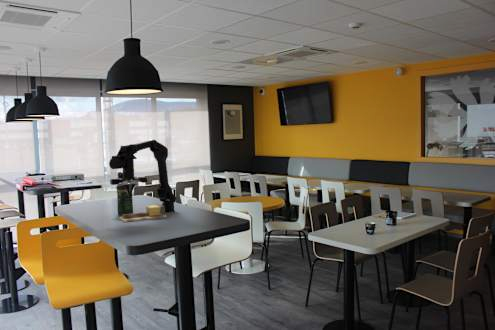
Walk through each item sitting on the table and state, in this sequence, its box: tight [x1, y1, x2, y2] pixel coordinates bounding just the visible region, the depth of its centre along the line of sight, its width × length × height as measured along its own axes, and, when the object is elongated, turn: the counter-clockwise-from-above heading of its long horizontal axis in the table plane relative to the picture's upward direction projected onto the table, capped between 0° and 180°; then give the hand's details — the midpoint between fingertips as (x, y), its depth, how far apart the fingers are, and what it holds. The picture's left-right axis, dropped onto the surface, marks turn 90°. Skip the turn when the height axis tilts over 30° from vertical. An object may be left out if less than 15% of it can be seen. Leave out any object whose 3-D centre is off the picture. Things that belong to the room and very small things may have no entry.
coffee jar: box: [116, 183, 134, 216], centre depth 235 cm, size 10×8×19 cm
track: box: [119, 203, 167, 223], centre depth 221 cm, size 23×12×6 cm, turn 119°
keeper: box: [145, 204, 161, 216], centre depth 224 cm, size 6×8×4 cm
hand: (129, 196), depth 214 cm, fingers closed
